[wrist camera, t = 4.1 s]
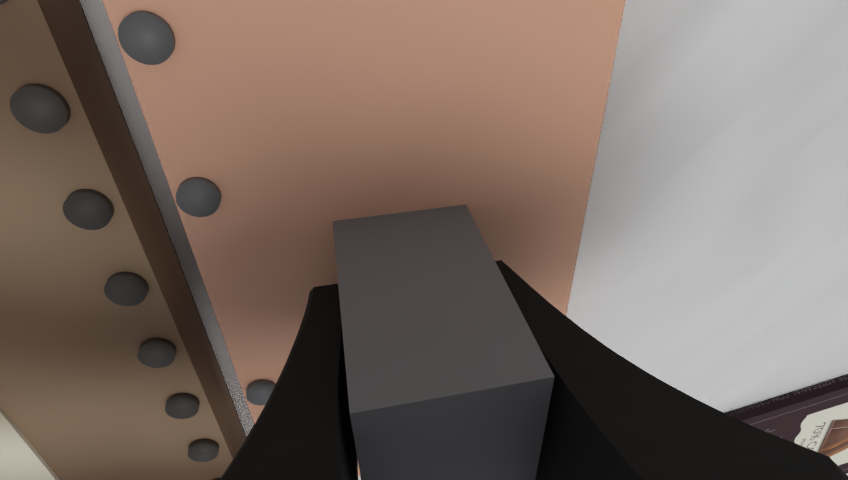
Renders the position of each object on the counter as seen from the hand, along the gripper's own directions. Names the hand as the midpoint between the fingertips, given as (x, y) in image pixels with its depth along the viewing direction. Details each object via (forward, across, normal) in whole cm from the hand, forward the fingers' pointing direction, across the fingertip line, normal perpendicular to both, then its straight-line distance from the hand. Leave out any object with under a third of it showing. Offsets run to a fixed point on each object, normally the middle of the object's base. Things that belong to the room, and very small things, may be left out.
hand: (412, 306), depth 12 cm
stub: (+2, 0, 0) cm, 2 cm away
